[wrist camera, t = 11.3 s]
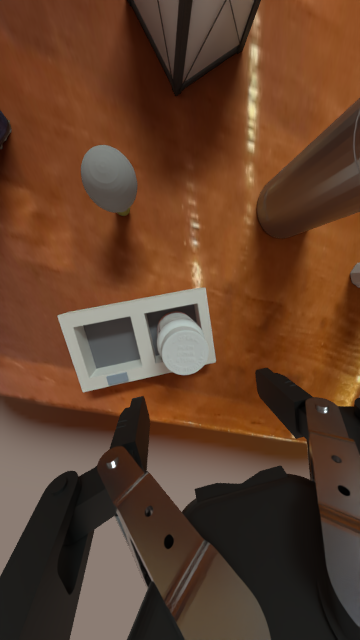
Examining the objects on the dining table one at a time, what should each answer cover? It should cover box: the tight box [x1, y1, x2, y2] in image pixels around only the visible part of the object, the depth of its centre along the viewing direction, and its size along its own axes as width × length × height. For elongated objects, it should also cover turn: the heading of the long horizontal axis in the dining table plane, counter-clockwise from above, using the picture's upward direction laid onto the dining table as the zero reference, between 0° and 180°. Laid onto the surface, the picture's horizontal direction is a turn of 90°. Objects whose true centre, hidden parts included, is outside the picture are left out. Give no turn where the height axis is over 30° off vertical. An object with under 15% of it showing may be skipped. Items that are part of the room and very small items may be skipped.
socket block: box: [58, 288, 216, 392], centre depth 28 cm, size 21×12×4 cm, turn 100°
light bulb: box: [81, 145, 137, 216], centre depth 21 cm, size 5×6×10 cm
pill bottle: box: [157, 311, 209, 375], centre depth 24 cm, size 6×6×11 cm
